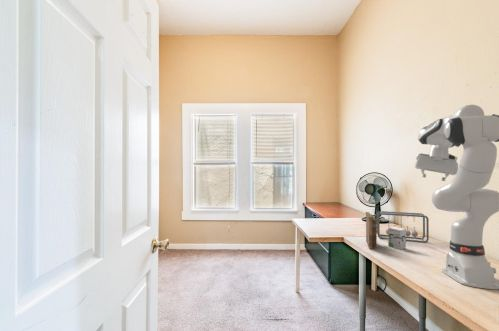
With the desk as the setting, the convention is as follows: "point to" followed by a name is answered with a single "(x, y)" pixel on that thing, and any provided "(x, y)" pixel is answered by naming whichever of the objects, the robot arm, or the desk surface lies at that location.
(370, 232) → the headboard
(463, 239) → the robot arm
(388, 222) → the newton's cradle
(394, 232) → the ink box
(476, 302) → the desk surface
